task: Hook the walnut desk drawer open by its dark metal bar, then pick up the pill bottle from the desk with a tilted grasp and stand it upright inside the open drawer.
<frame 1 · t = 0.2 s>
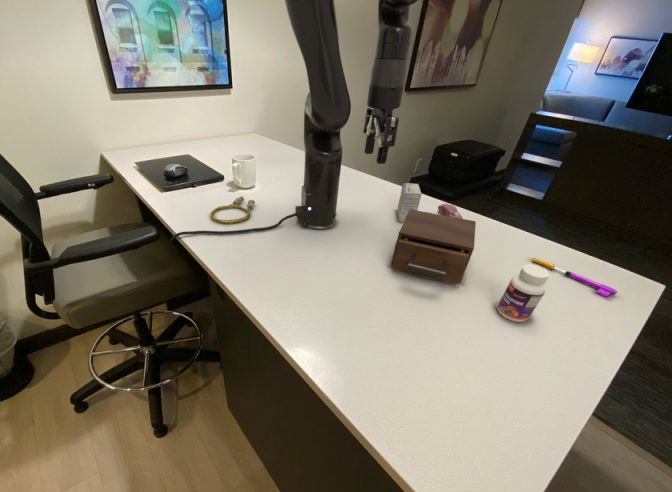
hand: (374, 158, 83), 17 cm above the table, tool pointing down, fingers open, 8 cm apart
video game controller: (449, 226, 92), on the table
drawer: (430, 254, 70), point 4 cm above the table, slide at 1.0 cm
medicine box: (405, 217, 96), on the table
cabinet: (428, 259, 77), on the table
purple and yellow rod: (567, 278, 72), on the table
pill bottle: (511, 313, 62), on the table
coiled yellow cable: (235, 214, 96), on the table
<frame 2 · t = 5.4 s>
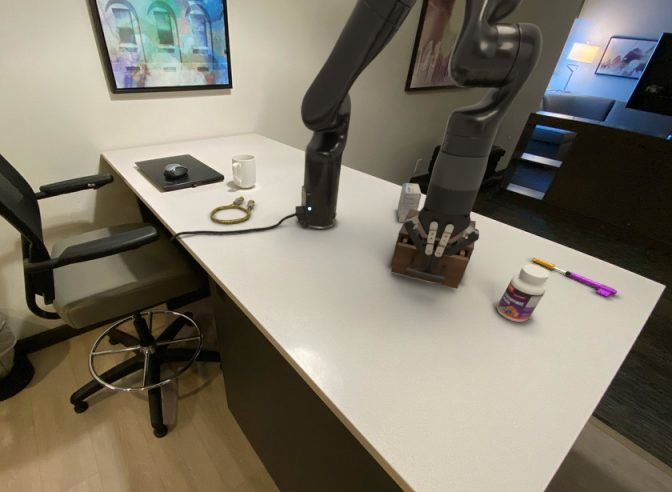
hand: (428, 269, 63), 6 cm above the table, tool pointing down, fingers closed
drawer: (429, 258, 69), point 4 cm above the table, slide at 2.6 cm, touching gripper
everything else where it was.
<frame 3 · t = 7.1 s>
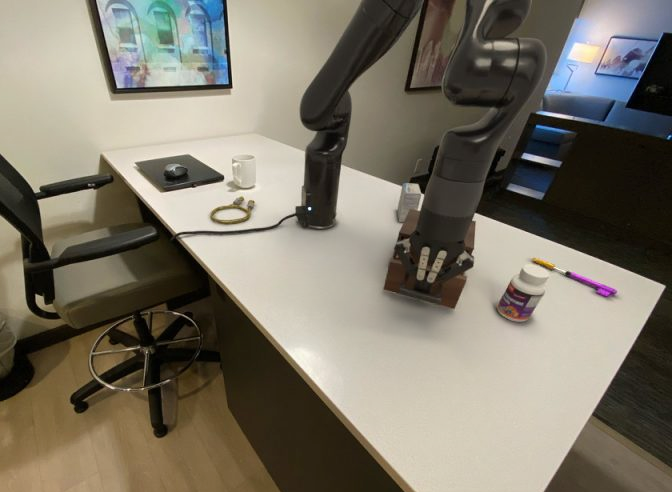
hand: (419, 294, 60), 4 cm above the table, tool pointing down, fingers closed
drawer: (424, 275, 64), point 4 cm above the table, slide at 9.7 cm, touching gripper
everything else where it was.
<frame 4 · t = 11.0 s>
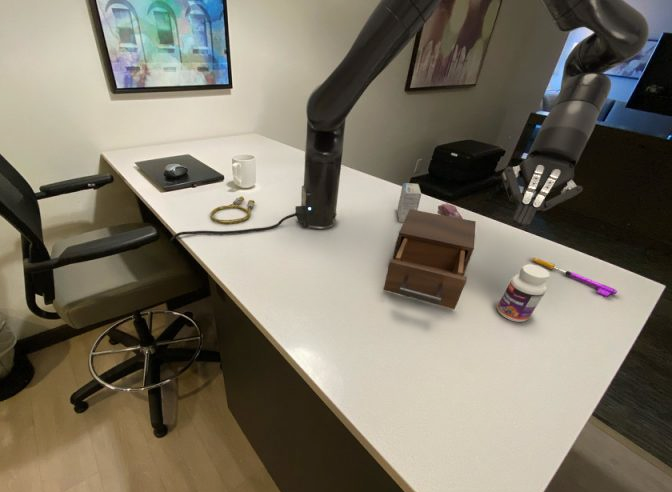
hand: (518, 226, 59), 14 cm above the table, tool tilted 40°, fingers closed
drawer: (424, 275, 64), point 4 cm above the table, slide at 9.8 cm
everything else where it was.
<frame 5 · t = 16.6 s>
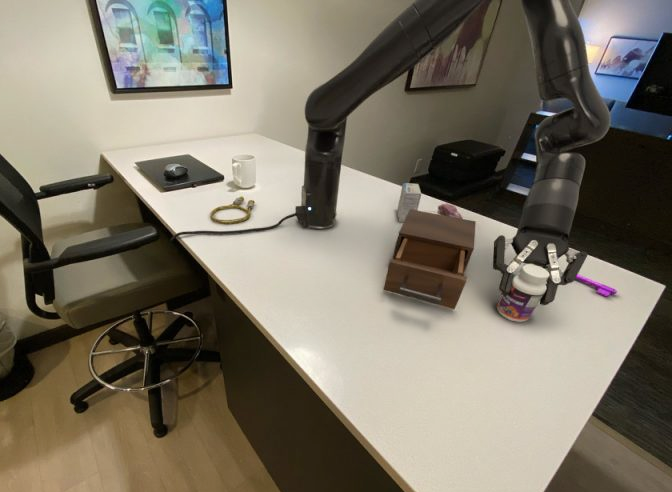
hand: (524, 299, 58), 5 cm above the table, tool tilted 45°, fingers closed on pill bottle, 5 cm apart
pill bottle: (511, 313, 62), on the table, touching gripper
everything else where it was.
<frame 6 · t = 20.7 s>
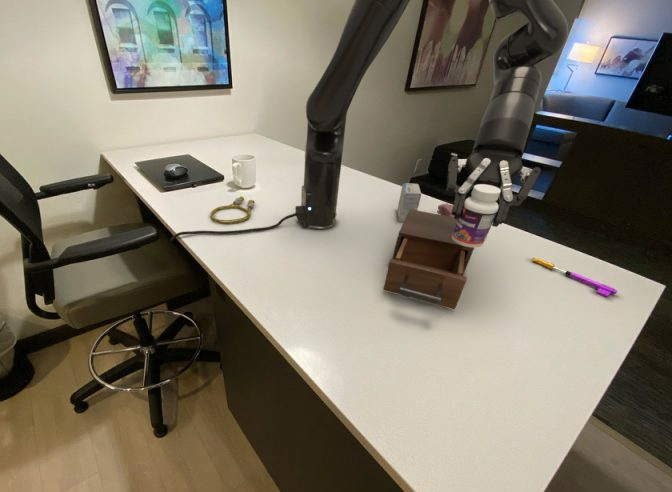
hand: (476, 220, 55), 17 cm above the table, tool tilted 45°, fingers closed on pill bottle, 5 cm apart
pill bottle: (466, 241, 59), point 12 cm above the table, touching gripper
everything else where it was.
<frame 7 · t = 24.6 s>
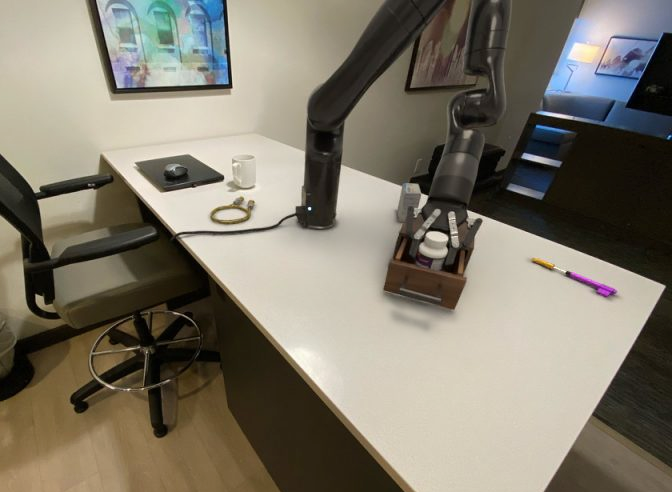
hand: (429, 263, 63), 7 cm above the table, tool tilted 45°, fingers closed on pill bottle, 5 cm apart
drawer: (424, 276, 64), point 4 cm above the table, slide at 10.0 cm, touching pill bottle
pill bottle: (423, 279, 67), point 2 cm above the table, touching drawer, gripper
everything else where it was.
when the fingers open (7 cm above the table, at t = 24.8 s): pill bottle stays where it is, resting on drawer.
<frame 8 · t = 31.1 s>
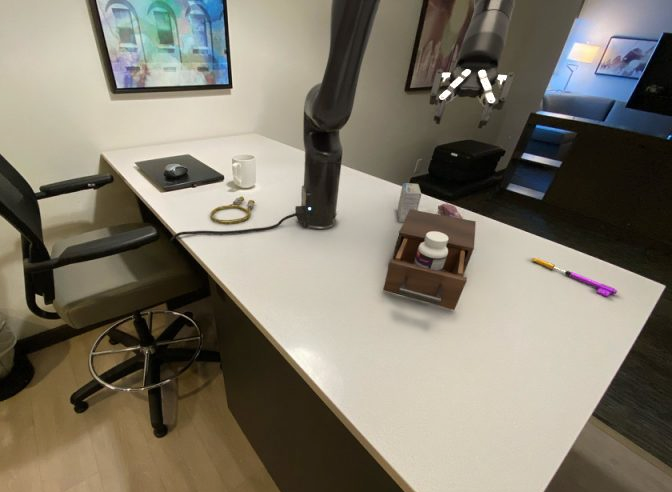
hand: (459, 123, 63), 28 cm above the table, tool tilted 45°, fingers open, 7 cm apart
pill bottle: (423, 279, 67), point 2 cm above the table, touching drawer
everything else where it was.
at the end: drawer slide at 10.0 cm; pill bottle 0.1 cm from the target spot, point 1.8 cm above the table; pill bottle tilted 0° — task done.
